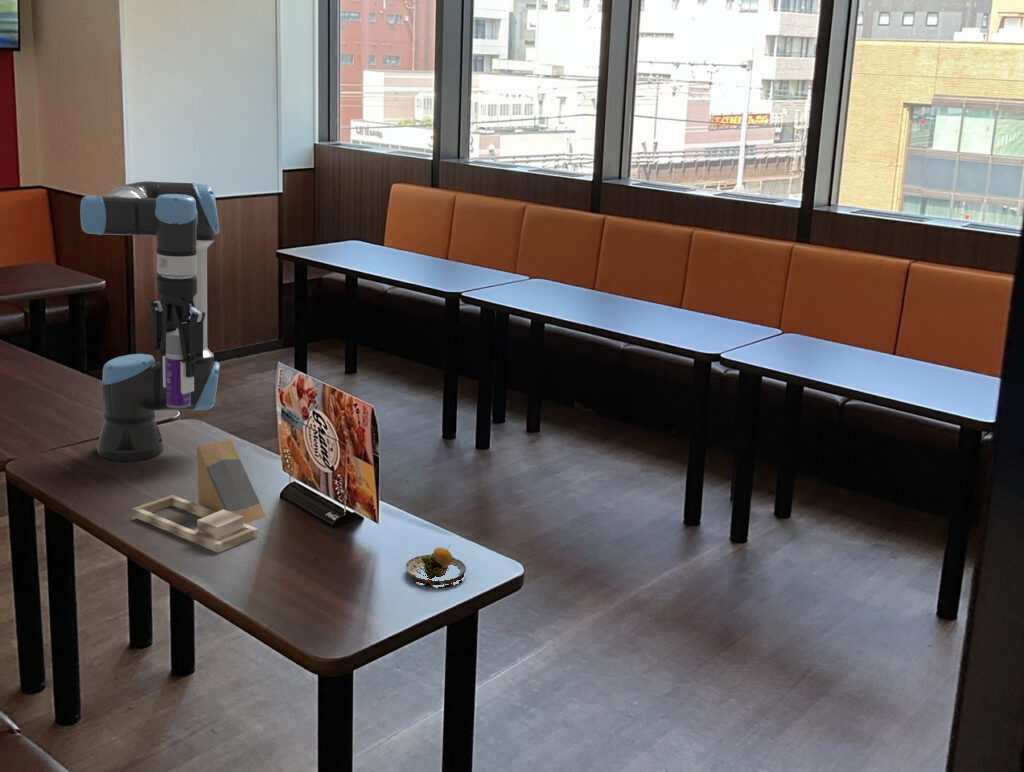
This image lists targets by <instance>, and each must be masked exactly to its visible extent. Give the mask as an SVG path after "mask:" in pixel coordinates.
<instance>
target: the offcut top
mask: <svg viewBox="0 0 1024 772" xmlns="http://www.w3.org/2000/svg"><path fill="white" fill-rule="evenodd" d="M196 523H197V524H196V527H197V528H196V529H198V530H200V531H203V532H206V533H208V534H211V535H214V536H216V537H219V536H221V535H223V534H226V533H228V532H230V531H232V530H235V529H237V528H239V527H242V526H243V516H241V515H238V514H235V513H232V512H229V511H226V510H224V509H223V510H221V511H218V512H216V513H213V514H211V515H208V516H206V517H204V518H202V517H200V518H199V519H197V521H196Z"/></svg>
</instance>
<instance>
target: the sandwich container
mask: <svg viewBox="0 0 1024 772" xmlns="http://www.w3.org/2000/svg"><path fill="white" fill-rule="evenodd" d="M196 459H197V460H196V461H197V464H196V466H197V505H200V506H202V507H205V508H208V509H210V510H213V511H215V512H218V511H221V510H223V509H224V510H226V511H229V512H232V513H235V514H238V515H241V516H243V523H245V524H248V523H252V522H255V521H258V520H259V521H260V520H262V519H265V518H267V517H268V515H267V514H266V512H265V510H264V508H263V506H262V504H261V502H260V499H259V498H258V495H257V494H256V491H255V489H254V487H253V485H252V484H253V483H252V482H251V480H250V478H249V475H248V473H247V471H246V469H245V467H244V465H243V463H242V461H241V459H240V456H239V454H238V451H237V449H236V447H235V444H234V442H233V439H225V440H219V441H215V442H210V443H205V444H201V445H198V446H197V447H196Z"/></svg>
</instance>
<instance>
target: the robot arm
mask: <svg viewBox="0 0 1024 772" xmlns="http://www.w3.org/2000/svg"><path fill="white" fill-rule="evenodd" d="M79 209H80V211H79V213H80V214H79V215H80V226H81V230H82V231H83V233H85V234H91V235H97V236H102V235H103V236H104V235H107V236H108V235H110V236H111V235H112V236H114V235H115V236H144V237H155V238H156V273H158V275H157V277H156V292H157V294H158V295H159V296H160V299H159V300H155V301H151V302H150V304H149V305H150V309H151V312H152V342H153V343H152V345H153V347H152V348H153V349H154V350H155V351H158V352H159V354H160V355H161V356H160V359H161V361H155V358H154V356H153V355H152V354H145V353H132V354H126V355H121V356H117V357H115V358H112V359H110V360H108V361H107V362H106V363H104V365H103V367H102V380H101V384H102V392H103V394H102V395H103V424H102V427H101V430H100V432H99V433H100V434H99V438H98V440H97V442H96V451H97V455H99V457H101V458H105V459H107V460H110V461H111V460H112V461H119V462H120V461H121V462H127V461H129V462H131V461H132V462H133V461H141V460H142V461H143V460H146V459H147V460H149V459H151V458H154V457H156V456H159V455H161V454H162V452H163V451H164V439H163V437H162V434H161V432H160V429H159V427H158V423H157V421H156V411H194V412H196V411H200V410H201V411H202V410H204V411H205V410H210V409H212V408H214V405H215V402H216V397H217V396H216V395H217V389H218V381H219V373H220V367H221V364H220V362H218V361H215V359H214V358H215V355H214V353H213V352H211V351H210V349H209V348H208V249H209V247H210V246H211V245H212V244H214V239H215V238H214V235H215V236H217V235H218V234H220V223H219V216H218V208H217V202H216V195H215V190H214V188H213V187H212V186H210V185H209V184H205V183H204V184H203V183H202V184H201V183H197V182H196V183H194V182H191V183H190V182H172V181H171V182H170V181H169V182H168V181H147V180H145V181H137V182H132V183H128V184H127V183H126V184H124V185H120V186H116V187H115V188H112V189H111V190H110V191H109V192H108V193H107V194H106V196H105V195H98V194H97V195H85V196H83V197H82V198H81V200H80V207H79ZM175 330H179V336H180V342H181V348H182V354H183V360H181V361H180V364H181V393H183V394H184V393H188V392H191V405H190V406H189V407H186V408H171V407H168V406H167V398H166V332H169V331H175ZM189 354H190V355H189Z"/></svg>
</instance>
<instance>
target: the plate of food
mask: <svg viewBox="0 0 1024 772" xmlns="http://www.w3.org/2000/svg"><path fill="white" fill-rule="evenodd" d="M450 546H451V544H449V545H448V547H447V548H444V547H441V546H437V547H435V548H434V550H433V553H430V554H425V555H420V556H416V557H413V558H411V559H410V560H408V562H406V572H407V575H409V576H410V577H413V578H414V583H415V582H419V583H423V584H425V585H426V584H427V583H429V585H430V586H431V585H432V586H433V585H443V584H444V585H445V584H451V583H453V582H456V581H457V580H461V579H462V578H463V577H464V573H466V572H467V569H466V568H467V567H466V565H465V564H464V563H463V561H461V560H460V559H458V558H456V557H453V555H452V553H451V551H449V547H450ZM449 565H454V566H457V568H458V569H459V570H460V573H459V574H458V575H459V576H458V577H456V578H454V579H453V578H452V579H450V580H444V581H439V580H438V581H432V580H429V579H432V578H434V577H435V576H436V577H441V576H443V575H445V573H446V571H449V570H447V569H449V568H450V567H449V568H448V566H449ZM421 566H422V567H424V568H421ZM417 567H418V568H419V569H421V570H423V571H424V570H425V571H424V572H425V573H426V574H427V576H428V577H427V578H429V579H428V580H425V579H421V578H418V577H416V576H417V575H415V573H413V572H414V571H415V572H417V573H419V574H421V572H420V571H421V570H419V569H417ZM413 570H414V571H413ZM418 570H419V571H418ZM423 576H424V575H423ZM425 576H426V575H425ZM432 586H431V587H432Z"/></svg>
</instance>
